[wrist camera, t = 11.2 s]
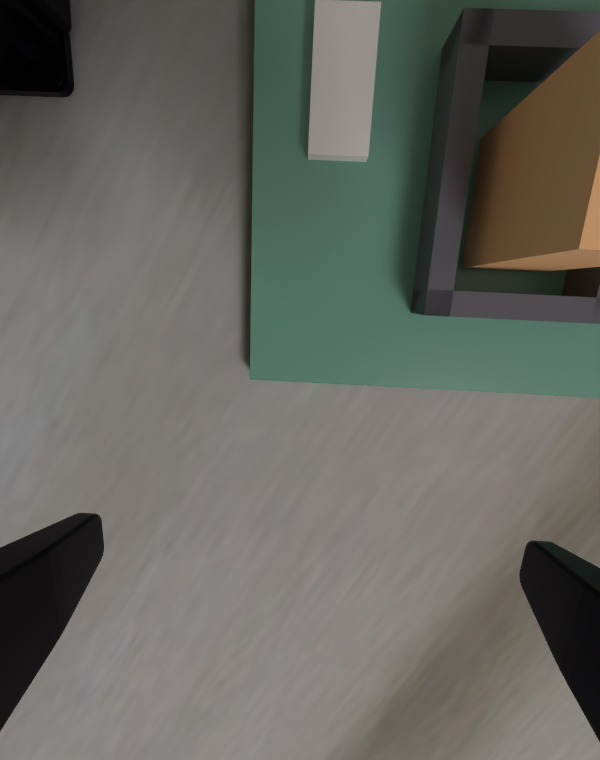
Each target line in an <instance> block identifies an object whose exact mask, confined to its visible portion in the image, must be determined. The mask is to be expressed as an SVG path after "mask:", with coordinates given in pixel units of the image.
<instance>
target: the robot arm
mask: <svg viewBox="0 0 600 760" xmlns="http://www.w3.org/2000/svg"><path fill="white" fill-rule="evenodd" d="M71 27H72V26H71V15H70V4H69V0H0V95H17V96H43V97H68V96H69V95H70V94H72V92H73V90H74V77H73V67H72V56H71V45H70V31H71ZM59 77H62V82H61V83H60V85H57V84H56V82H57V79H58V78H59ZM103 552H104V541H103V531H102V521H101V518H100V516H99V515H98V514H92V513H77V514H75V515H73V516H70V517H68V518H66V519H64V520H61V521H59V522H57V523H55V524H52V525H50V526H48V527H46V528H43V529H41V530H39V531H37V532H34V533H32V534H30V535H28V536H25V537H23V538H21V539H19V540H16V541H14V542H12V543H10V544H7V545H5V546H3V547H1V548H0V731H1V729H2V728H3V726H4V725H5V723H6V721H7V720H8V718H9V717H10V715H11V714H12V712H13V710H14V709H15V707H16V706H17V704H18V703H19V701H20V699H21V698H22V696H23V695H24V693H25V692H26V690H27V688H28V687H29V685H30V684H31V682H32V681H33V679H34V677H35V676H36V674H37V673H38V671H39V670H40V668H41V667H42V665H43V663H44V662H45V660H46V659H47V657H48V656H49V654H50V652H51V651H52V649H53V648H54V646H55V644H56V643H57V641H58V640H59V638H60V636H61V635H62V633H63V631H64V629H65V627H66V626H67V624H68V622H69V620H70V618H71V616H72V614H73V612H74V611H75V609H76V607H77V605H78V603H79V601H80V599H81V597H82V595H83V593H84V591H85V590H86V588H87V586H88V584H89V582H90V580H91V578H92V576H93V574H94V572H95V570H96V569H97V567H98V565H99V563H100V561H101V559H102V556H103ZM520 583H521V586H522V589H523V591H524V593H525V595H526V597H527V600H528V602H529V604H530V606H531V608H532V611H533V613H534V615H535V617H536V619H537V622H538V624H539V626H540V628H541V630H542V633H543V635H544V637H545V639H546V641H547V644H548V646H549V648H550V650H551V652H552V655H553V657H554V659H555V661H556V663H557V665H558V667H559V669H560V671H561V673H562V675H563V676H564V678H565V680H566V682H567V684H568V686H569V688H570V689H571V691H572V693H573V695H574V697H575V698H576V700H577V702H578V704H579V706H580V707H581V709H582V711H583V713H584V715H585V716H586V718H587V720H588V722H589V724H590V725H591V727H592V729H593V731H594V733H595V734H596V736H597V738H598V740H599V742H600V568H598V567H597V566H595V565H593V564H591V563H589V562H587V561H586V560H584V559H582V558H580V557H578V556H576V555H575V554H573V553H571V552H569V551H567V550H565V549H564V548H562V547H560V546H558V545H556V544H554V543H552V542H549V541H530V542H528V543H527V545H526V547H525V552H524V556H523V560H522V565H521V569H520Z"/></svg>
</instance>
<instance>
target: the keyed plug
mask: <svg viewBox="0 0 600 760" xmlns="http://www.w3.org/2000/svg"><path fill="white" fill-rule="evenodd" d="M591 267H600V31H599V32H597V33H596V34H595V35H594V36H593V37H592V38H591V39H590V40H589V41H588V42H586V43H585V44H584V45H583V46H582V47H581V48H580V49H579V50H578V51H577V52H575V53H574V54H573V55H572V56H571V57H570V58H569V59H568V60H567V61H566V62H565V63H563V64H562V65H561V66H560V67H559V68H558V69H557V70H556V71H555V72H554V73H552V74H551V75H550V76H549V77H548V78H547V79H546V80H545V81H544V82H543V83H541V84H540V85H539V86H538V87H537V88H536V89H535V90H534V91H533V92H532V93H530V94H529V95H528V96H527V97H526V98H525V99H524V100H523V101H522V102H521V103H519V104H518V105H517V106H516V107H515V108H514V109H513V110H512V111H511V112H510V113H508V114H507V115H506V116H505V117H504V118H503V119H502V120H501V121H500V122H499V123H497V124H496V125H495V126H494V127H493V128H492V129H491V130H490V131H489V132H488V133H486V134H485V135H484V136H483V137H482V138H481V142H480V149H479V155H478V162H477V169H476V175H475V182H474V189H473V196H472V202H471V209H470V216H469V223H468V229H467V236H466V243H465V249H464V256H463V263H462V268H471V269H493V270H515V271H537V272H546V271H557V270H568V269H579V268H591Z"/></svg>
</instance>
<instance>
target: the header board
mask: <svg viewBox="0 0 600 760" xmlns="http://www.w3.org/2000/svg"><path fill="white" fill-rule="evenodd" d="M599 31H600V0H255V19H254V96H253V173H252V251H251V328H250V379H253V380H272V381H291V382H310V383H329V384H348V385H366V386H385V387H404V388H423V389H442V390H461V391H480V392H498V393H517V394H536V395H555V396H574V397H593V398H600V267H591V268H579V269H568V270H557V271H546V272H537V271H515V270H493V269H471V268H462V263H463V256H464V249H465V243H466V236H467V229H468V223H469V216H470V209H471V202H472V196H473V189H474V182H475V175H476V169H477V162H478V155H479V149H480V142H481V138H482V137H483V136H484V135H485V134H486V133H488V132H489V131H490V130H491V129H492V128H493V127H494V126H495V125H496V124H497V123H499V122H500V121H501V120H502V119H503V118H504V117H505V116H506V115H507V114H508V113H510V112H511V111H512V110H513V109H514V108H515V107H516V106H517V105H518V104H519V103H521V102H522V101H523V100H524V99H525V98H526V97H527V96H528V95H529V94H530V93H532V92H533V91H534V90H535V89H536V88H537V87H538V86H539V85H540V84H541V83H543V82H544V81H545V80H546V79H547V78H548V77H549V76H550V75H551V74H552V73H554V72H555V71H556V70H557V69H558V68H559V67H560V66H561V65H562V64H563V63H565V62H566V61H567V60H568V59H569V58H570V57H571V56H572V55H573V54H574V53H575V52H577V51H578V50H579V49H580V48H581V47H582V46H583V45H584V44H585V43H586V42H588V41H589V40H590V39H591V38H592V37H593V36H594V35H595V34H596V33H597V32H599Z"/></svg>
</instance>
